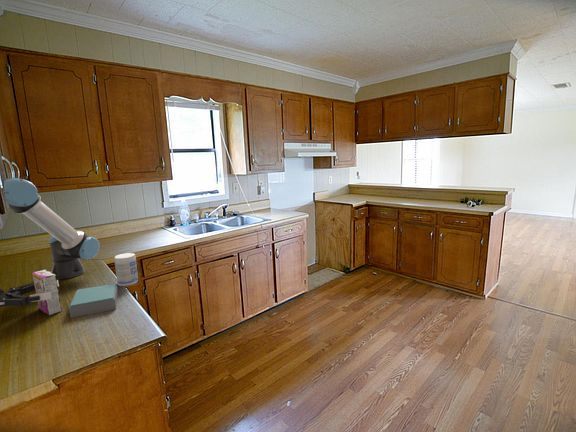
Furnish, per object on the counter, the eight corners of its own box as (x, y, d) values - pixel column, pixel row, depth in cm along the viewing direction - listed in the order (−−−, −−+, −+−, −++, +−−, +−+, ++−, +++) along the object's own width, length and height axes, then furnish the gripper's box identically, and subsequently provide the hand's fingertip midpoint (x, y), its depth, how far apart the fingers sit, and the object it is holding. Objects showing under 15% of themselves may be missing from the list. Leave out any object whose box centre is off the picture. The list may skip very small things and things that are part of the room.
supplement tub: (137, 285, 154) (133, 257, 151) (115, 288, 151) (112, 259, 148) (139, 278, 163) (136, 251, 160) (119, 281, 160) (116, 253, 157)
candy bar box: (37, 309, 131) (31, 272, 128) (51, 304, 135) (45, 268, 132) (48, 316, 124) (41, 278, 121) (62, 311, 129) (56, 274, 126)
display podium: (77, 300, 139) (76, 289, 138) (118, 292, 146) (116, 282, 145) (70, 317, 123) (68, 306, 122) (116, 308, 130) (114, 297, 129)
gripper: (2, 296, 132) (62, 286, 141) (-25, 323, 110) (48, 310, 119) (-2, 279, 130) (59, 271, 139) (-29, 303, 108) (45, 291, 117)
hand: (54, 289), depth 129 cm, fingers open, 13 cm apart
